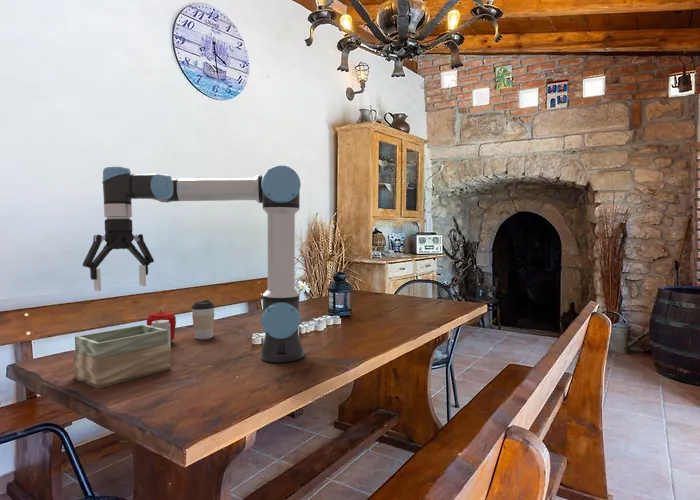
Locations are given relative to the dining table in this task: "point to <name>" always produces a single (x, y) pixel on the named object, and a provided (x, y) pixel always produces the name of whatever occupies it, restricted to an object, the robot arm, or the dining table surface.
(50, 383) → the dining table surface
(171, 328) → the red rounded piece
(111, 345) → the wooden planter box
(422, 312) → the dining table surface
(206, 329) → the coffee cup
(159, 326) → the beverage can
